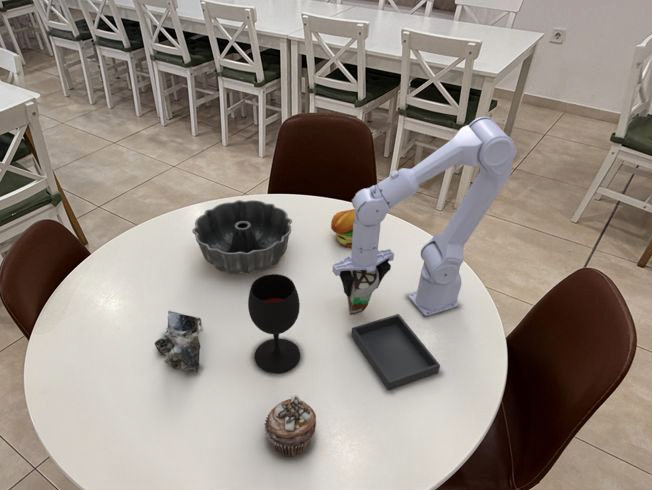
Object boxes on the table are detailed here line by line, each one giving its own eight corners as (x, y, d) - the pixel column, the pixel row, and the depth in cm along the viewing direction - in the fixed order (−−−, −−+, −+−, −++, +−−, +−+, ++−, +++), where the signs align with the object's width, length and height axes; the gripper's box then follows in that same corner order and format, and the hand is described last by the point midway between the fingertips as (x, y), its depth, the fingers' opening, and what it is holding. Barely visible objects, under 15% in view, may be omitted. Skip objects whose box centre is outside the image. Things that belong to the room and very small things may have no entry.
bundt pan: (264, 219, 152) (262, 189, 145) (311, 263, 135) (311, 232, 128) (184, 247, 142) (177, 217, 135) (223, 298, 126) (218, 266, 119)
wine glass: (266, 380, 106) (259, 312, 92) (246, 349, 113) (237, 281, 99) (308, 362, 109) (308, 294, 95) (287, 333, 116) (284, 265, 102)
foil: (219, 316, 116) (194, 329, 101) (214, 360, 118) (188, 379, 104) (173, 307, 118) (142, 318, 103) (168, 350, 120) (137, 367, 106)
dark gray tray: (397, 321, 118) (398, 313, 116) (438, 373, 106) (440, 365, 104) (351, 336, 115) (351, 327, 113) (387, 390, 103) (389, 382, 101)
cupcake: (291, 409, 100) (290, 377, 93) (326, 439, 95) (327, 408, 88) (255, 438, 96) (251, 407, 89) (289, 471, 91) (288, 440, 84)
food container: (376, 319, 116) (384, 291, 108) (350, 319, 116) (356, 291, 108) (369, 281, 124) (376, 252, 116) (345, 280, 124) (350, 251, 116)
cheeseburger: (369, 252, 138) (362, 221, 131) (332, 254, 142) (324, 224, 136) (374, 231, 145) (369, 201, 138) (339, 234, 149) (332, 205, 142)
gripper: (343, 260, 104) (340, 308, 113) (403, 244, 107) (396, 292, 117) (329, 242, 108) (327, 290, 118) (387, 228, 112) (381, 275, 121)
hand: (360, 290), depth 118 cm, fingers closed on food container, 7 cm apart
